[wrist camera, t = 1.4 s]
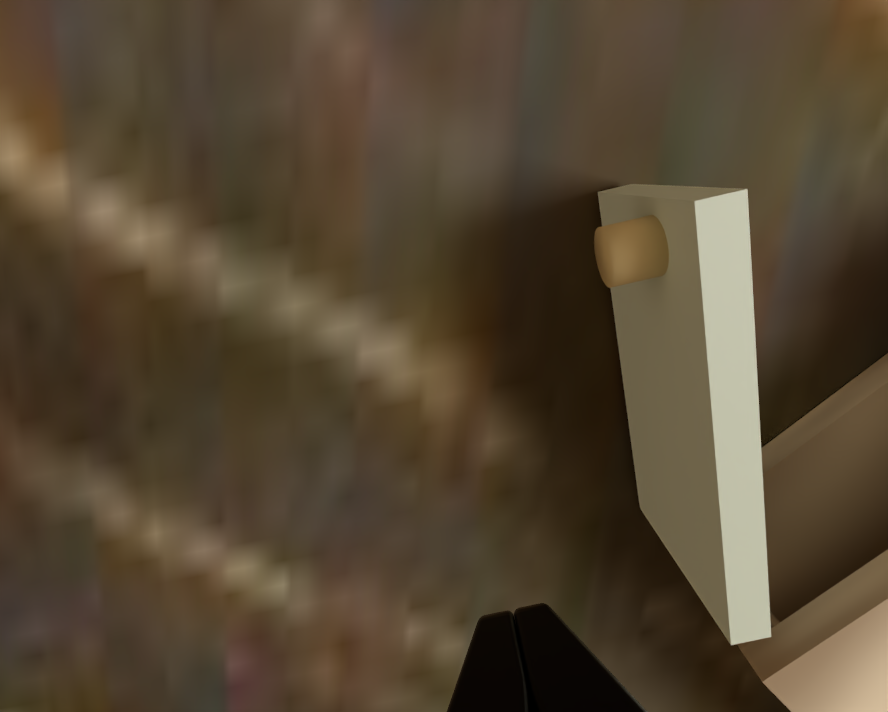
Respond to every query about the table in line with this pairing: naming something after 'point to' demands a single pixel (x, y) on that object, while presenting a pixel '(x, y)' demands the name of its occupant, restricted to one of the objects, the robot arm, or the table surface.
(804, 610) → the cabinet
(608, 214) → the cabinet door
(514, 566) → the table surface
